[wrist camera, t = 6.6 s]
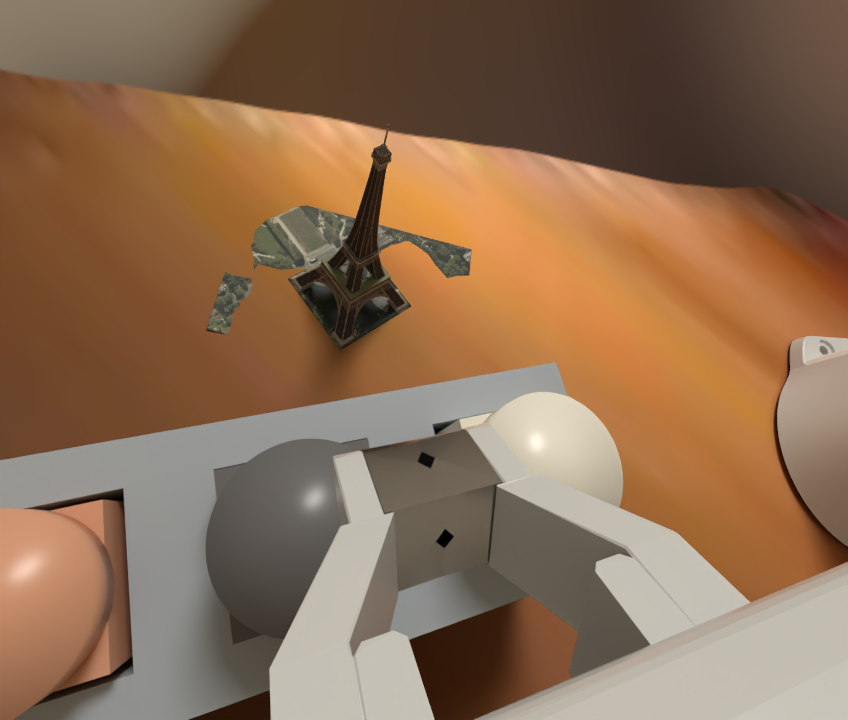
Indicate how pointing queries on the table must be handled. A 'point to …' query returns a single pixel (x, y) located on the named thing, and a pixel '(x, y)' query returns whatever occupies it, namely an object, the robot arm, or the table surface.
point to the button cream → (557, 442)
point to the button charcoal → (273, 532)
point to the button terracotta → (61, 600)
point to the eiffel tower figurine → (337, 263)
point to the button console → (187, 527)
